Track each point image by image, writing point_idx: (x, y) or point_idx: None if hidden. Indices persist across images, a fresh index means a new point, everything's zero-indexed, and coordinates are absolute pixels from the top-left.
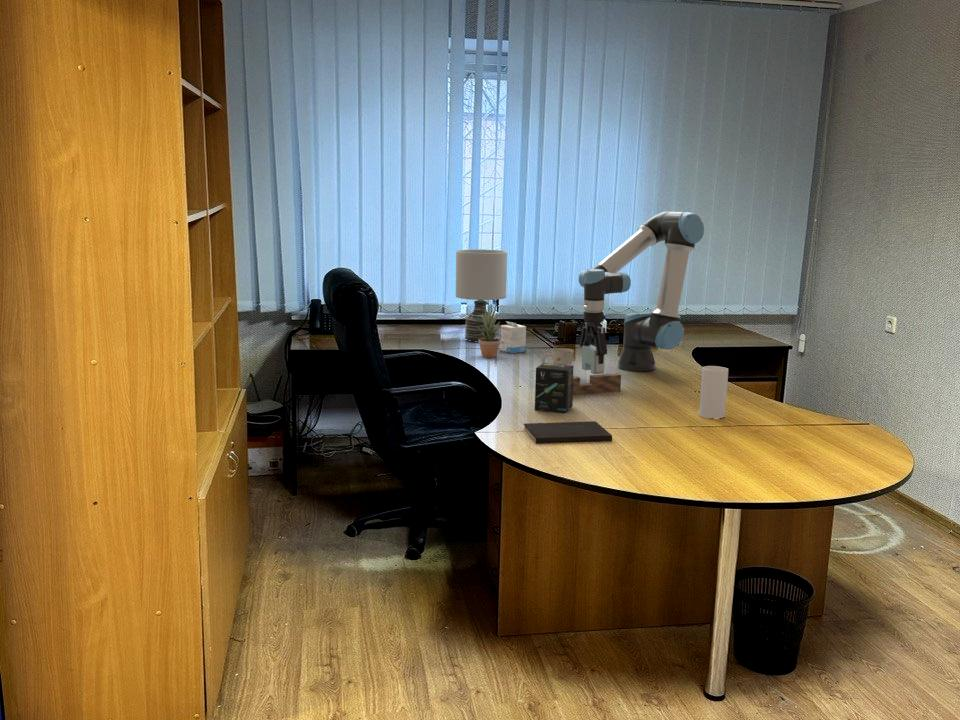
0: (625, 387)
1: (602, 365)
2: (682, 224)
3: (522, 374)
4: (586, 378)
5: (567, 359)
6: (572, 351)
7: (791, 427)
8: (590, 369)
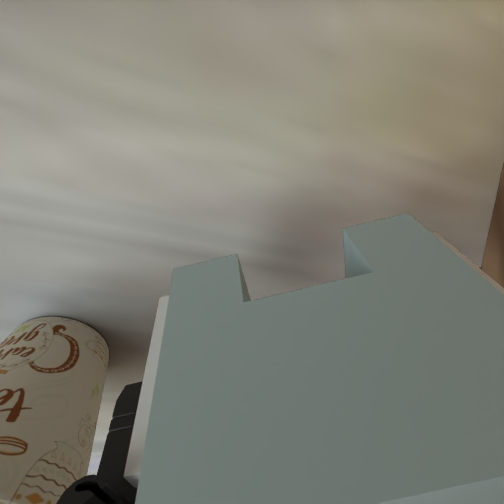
0: (495, 5)
1: None
2: None
3: (91, 467)
4: (145, 239)
5: (78, 443)
6: (2, 499)
7: None
8: (246, 286)
